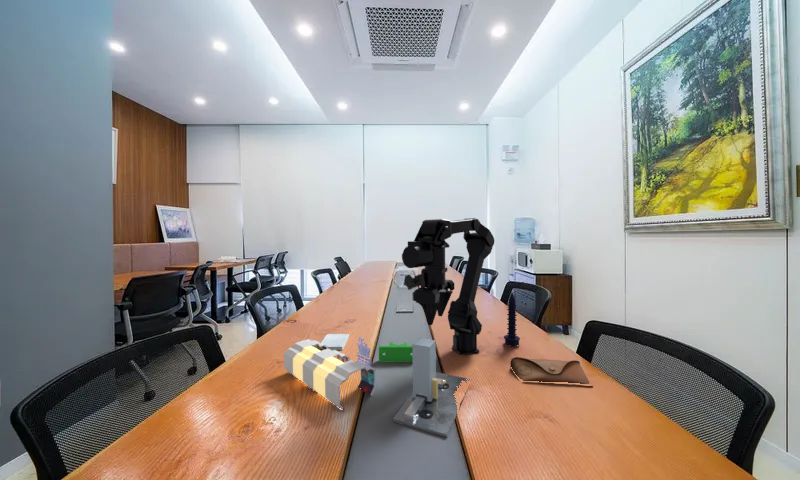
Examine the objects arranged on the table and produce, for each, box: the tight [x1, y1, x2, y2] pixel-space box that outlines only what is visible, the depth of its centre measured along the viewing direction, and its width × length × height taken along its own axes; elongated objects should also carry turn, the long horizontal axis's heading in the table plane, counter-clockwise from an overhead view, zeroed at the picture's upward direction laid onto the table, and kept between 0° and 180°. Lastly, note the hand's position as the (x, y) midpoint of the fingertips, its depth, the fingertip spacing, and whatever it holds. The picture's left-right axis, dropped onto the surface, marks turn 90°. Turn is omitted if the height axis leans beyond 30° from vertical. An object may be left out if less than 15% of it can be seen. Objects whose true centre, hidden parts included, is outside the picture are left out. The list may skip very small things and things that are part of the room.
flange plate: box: [392, 371, 471, 438], centre depth 66 cm, size 22×11×2 cm, turn 155°
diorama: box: [283, 336, 377, 409], centre depth 73 cm, size 25×10×13 cm, turn 46°
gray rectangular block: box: [411, 337, 438, 402], centre depth 66 cm, size 4×5×12 cm
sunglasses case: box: [509, 356, 590, 384], centre depth 76 cm, size 18×7×7 cm, turn 83°
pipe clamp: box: [378, 341, 413, 363], centre depth 87 cm, size 11×4×5 cm, turn 89°
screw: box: [503, 291, 521, 347], centre depth 97 cm, size 18×5×5 cm
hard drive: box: [320, 333, 350, 351], centre depth 100 cm, size 2×8×12 cm
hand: (435, 320), depth 82 cm, fingers open, 8 cm apart
